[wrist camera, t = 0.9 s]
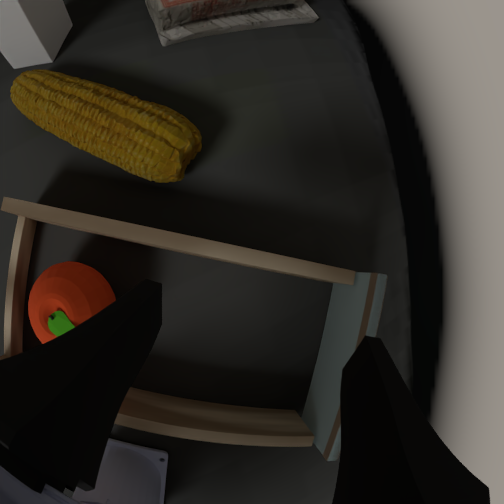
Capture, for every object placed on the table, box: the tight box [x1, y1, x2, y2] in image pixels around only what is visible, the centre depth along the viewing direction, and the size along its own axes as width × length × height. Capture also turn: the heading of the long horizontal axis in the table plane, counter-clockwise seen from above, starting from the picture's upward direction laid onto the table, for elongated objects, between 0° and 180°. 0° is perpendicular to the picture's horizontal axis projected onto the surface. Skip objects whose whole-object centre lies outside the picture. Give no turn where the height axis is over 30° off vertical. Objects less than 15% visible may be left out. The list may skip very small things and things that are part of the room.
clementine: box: [28, 261, 116, 344], centre depth 18 cm, size 8×7×7 cm
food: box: [10, 69, 202, 183], centre depth 19 cm, size 21×6×6 cm, turn 65°
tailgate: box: [301, 272, 388, 461], centre depth 21 cm, size 14×1×6 cm, turn 169°
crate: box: [0, 197, 356, 447], centre depth 20 cm, size 14×26×5 cm, turn 79°
